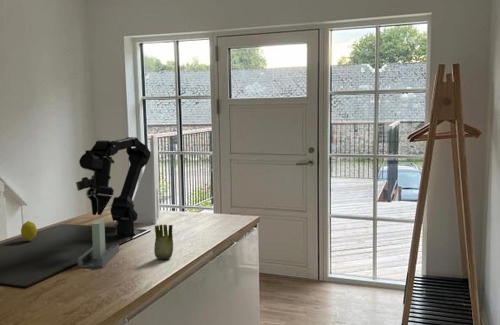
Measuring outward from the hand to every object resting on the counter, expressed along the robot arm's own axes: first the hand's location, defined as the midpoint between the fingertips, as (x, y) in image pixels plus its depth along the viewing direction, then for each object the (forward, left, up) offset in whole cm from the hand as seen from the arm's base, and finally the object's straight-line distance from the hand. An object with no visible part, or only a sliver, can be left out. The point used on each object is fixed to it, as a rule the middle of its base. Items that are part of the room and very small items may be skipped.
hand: (96, 215), depth 171 cm
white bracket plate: (-27, -37, -12) cm, 48 cm away
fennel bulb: (-16, +26, -12) cm, 33 cm away
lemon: (+22, -23, -12) cm, 34 cm away
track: (+3, +15, -12) cm, 20 cm away
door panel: (+3, +15, -11) cm, 19 cm away
